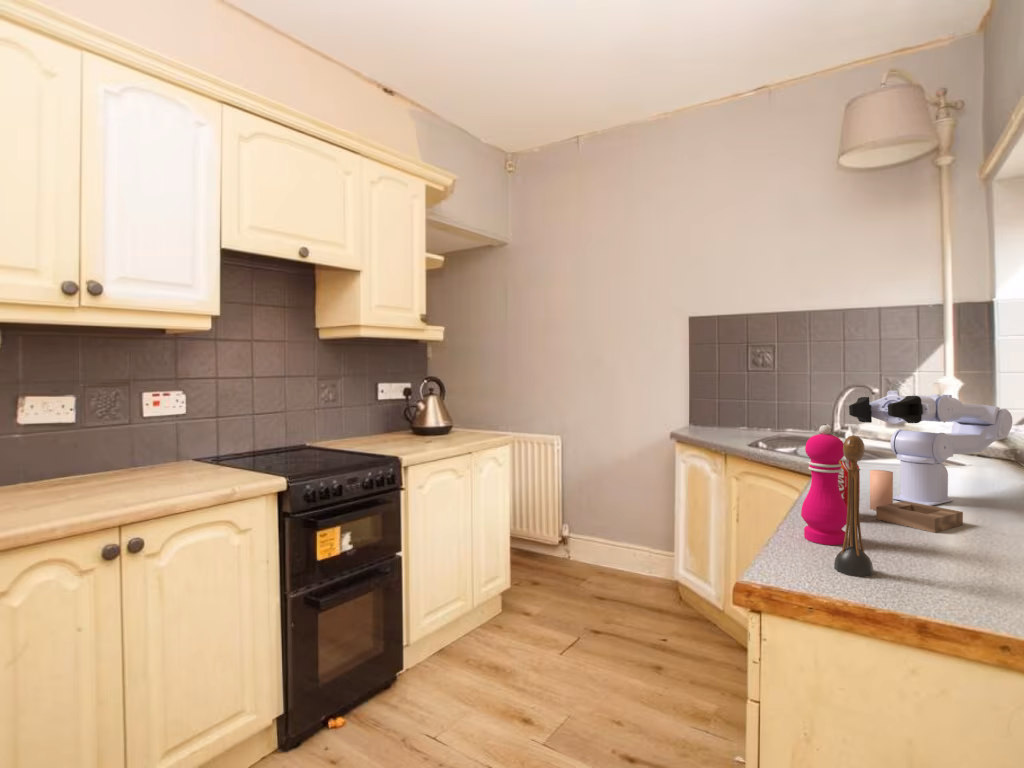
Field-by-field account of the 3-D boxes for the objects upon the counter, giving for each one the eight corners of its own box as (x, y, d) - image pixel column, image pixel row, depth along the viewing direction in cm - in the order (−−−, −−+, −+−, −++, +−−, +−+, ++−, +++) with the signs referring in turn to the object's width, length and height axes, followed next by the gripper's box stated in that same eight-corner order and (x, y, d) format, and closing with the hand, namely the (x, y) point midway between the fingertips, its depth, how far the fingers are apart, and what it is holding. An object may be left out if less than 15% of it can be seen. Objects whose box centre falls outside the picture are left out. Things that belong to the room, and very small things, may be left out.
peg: (876, 506, 118) (876, 469, 118) (896, 510, 114) (897, 472, 114) (865, 508, 116) (865, 471, 116) (885, 512, 113) (886, 474, 112)
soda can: (867, 521, 107) (867, 459, 106) (830, 521, 107) (831, 460, 106) (846, 511, 114) (846, 454, 113) (811, 511, 114) (811, 454, 113)
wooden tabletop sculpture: (842, 561, 85) (843, 432, 84) (877, 568, 81) (878, 434, 81) (830, 571, 80) (831, 435, 80) (867, 579, 77) (868, 438, 77)
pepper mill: (856, 547, 91) (856, 427, 90) (808, 545, 92) (809, 427, 92) (839, 534, 98) (839, 423, 98) (795, 532, 99) (795, 422, 99)
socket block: (904, 512, 112) (904, 500, 112) (962, 524, 103) (962, 511, 103) (876, 519, 108) (876, 506, 108) (934, 532, 99) (934, 518, 99)
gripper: (870, 391, 126) (834, 392, 119) (944, 389, 113) (907, 389, 107) (872, 422, 125) (835, 424, 119) (945, 423, 112) (909, 425, 106)
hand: (869, 410), depth 113 cm, fingers open, 7 cm apart
